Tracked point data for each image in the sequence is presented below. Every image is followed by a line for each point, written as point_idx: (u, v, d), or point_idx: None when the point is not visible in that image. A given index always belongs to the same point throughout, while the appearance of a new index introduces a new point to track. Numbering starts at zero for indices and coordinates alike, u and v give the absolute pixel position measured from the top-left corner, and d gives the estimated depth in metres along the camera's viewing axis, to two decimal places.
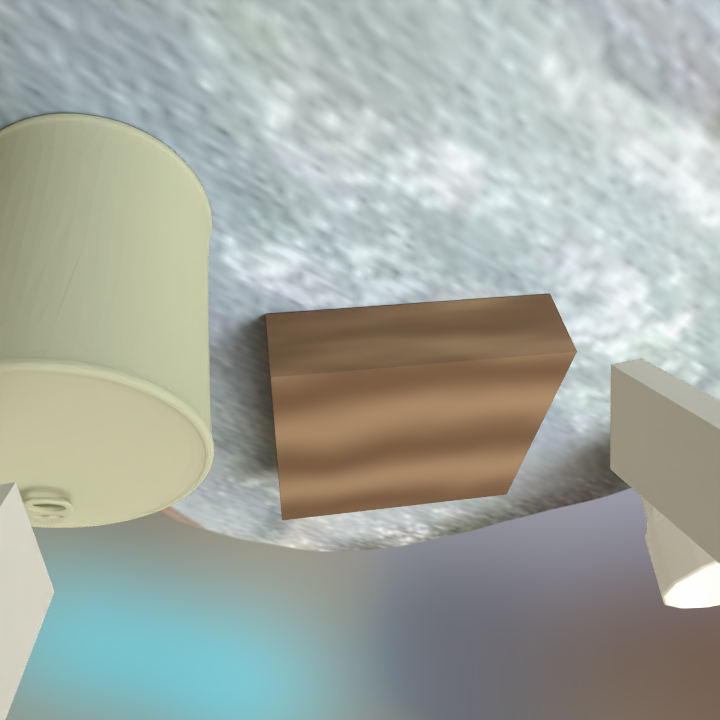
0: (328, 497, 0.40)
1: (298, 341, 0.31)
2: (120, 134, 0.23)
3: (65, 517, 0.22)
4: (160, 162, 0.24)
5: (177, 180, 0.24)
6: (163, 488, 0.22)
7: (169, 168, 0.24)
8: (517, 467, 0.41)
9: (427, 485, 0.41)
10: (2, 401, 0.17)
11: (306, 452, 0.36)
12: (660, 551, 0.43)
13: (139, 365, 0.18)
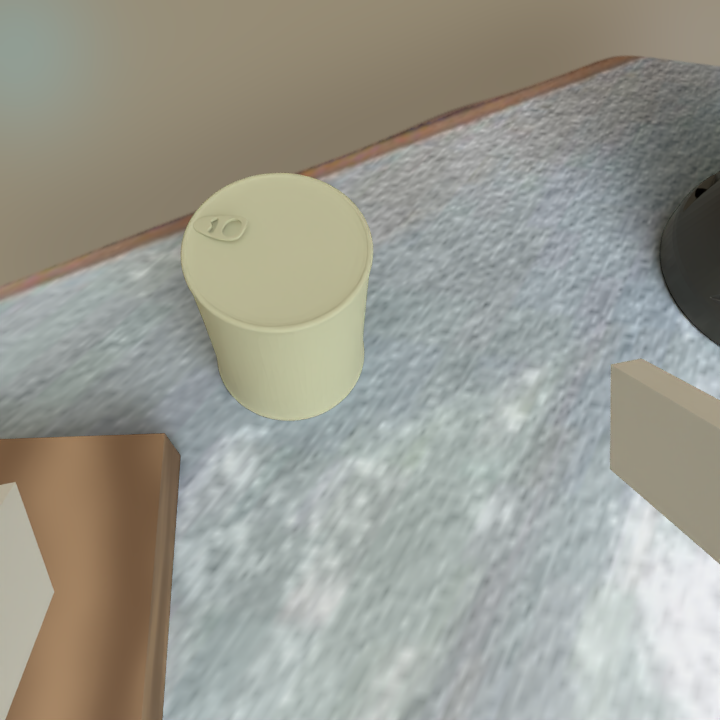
0: None
1: (171, 471, 0.36)
2: (357, 373, 0.40)
3: (208, 233, 0.31)
4: (343, 390, 0.39)
5: (333, 396, 0.39)
6: (223, 296, 0.30)
7: (338, 395, 0.39)
8: None
9: None
10: (340, 237, 0.31)
11: (24, 468, 0.33)
12: None
13: (350, 306, 0.30)
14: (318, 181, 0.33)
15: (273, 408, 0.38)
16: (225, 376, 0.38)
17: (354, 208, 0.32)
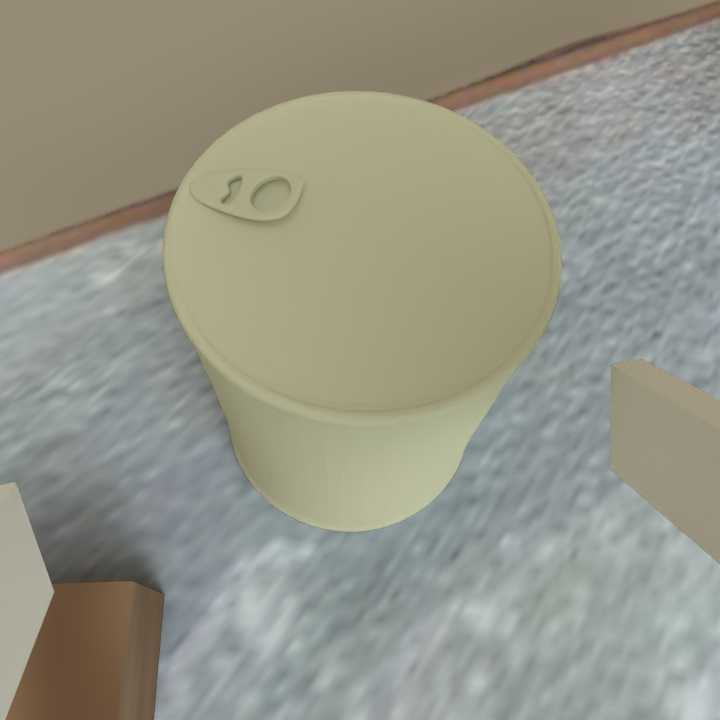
0: None
1: (144, 640, 0.20)
2: (462, 451, 0.24)
3: (221, 205, 0.15)
4: (443, 482, 0.23)
5: (428, 494, 0.23)
6: (252, 340, 0.14)
7: (435, 490, 0.23)
8: None
9: None
10: (492, 217, 0.15)
11: None
12: None
13: None
14: (438, 108, 0.17)
15: (326, 516, 0.22)
16: (243, 458, 0.22)
17: (513, 160, 0.16)
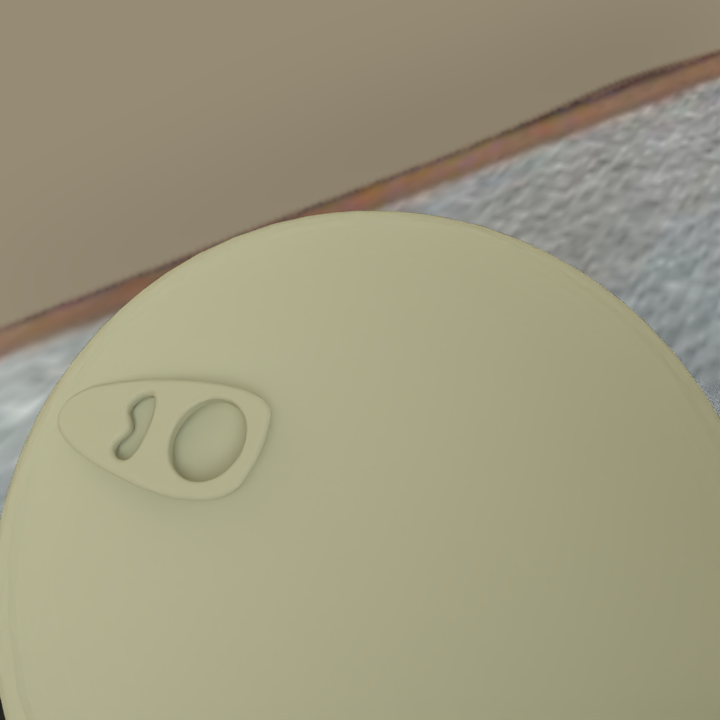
0: None
1: None
2: None
3: (111, 463, 0.08)
4: None
5: None
6: None
7: None
8: None
9: None
10: (625, 463, 0.08)
11: None
12: None
13: None
14: (510, 241, 0.10)
15: None
16: None
17: (652, 341, 0.09)
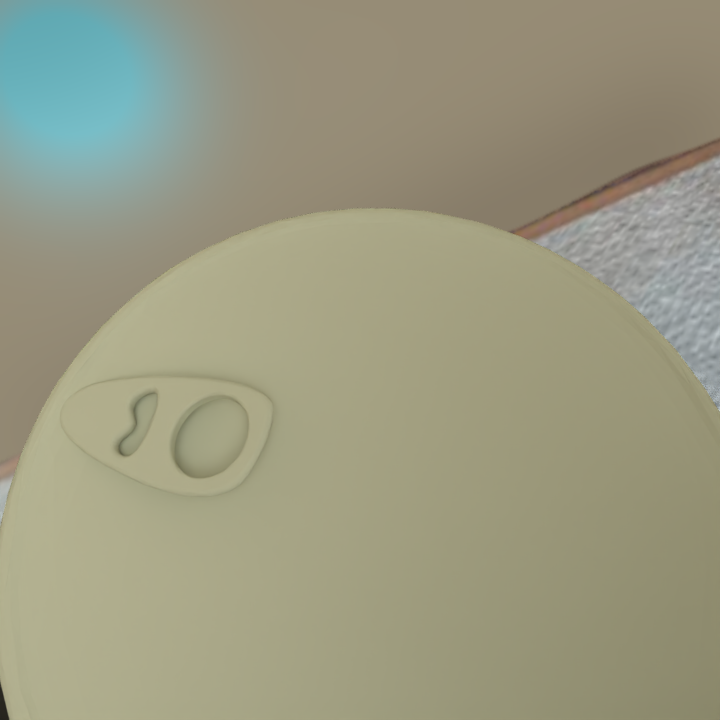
0: None
1: None
2: None
3: (114, 459, 0.08)
4: None
5: None
6: None
7: None
8: None
9: None
10: (627, 459, 0.08)
11: None
12: None
13: None
14: (512, 238, 0.10)
15: None
16: None
17: (654, 338, 0.09)
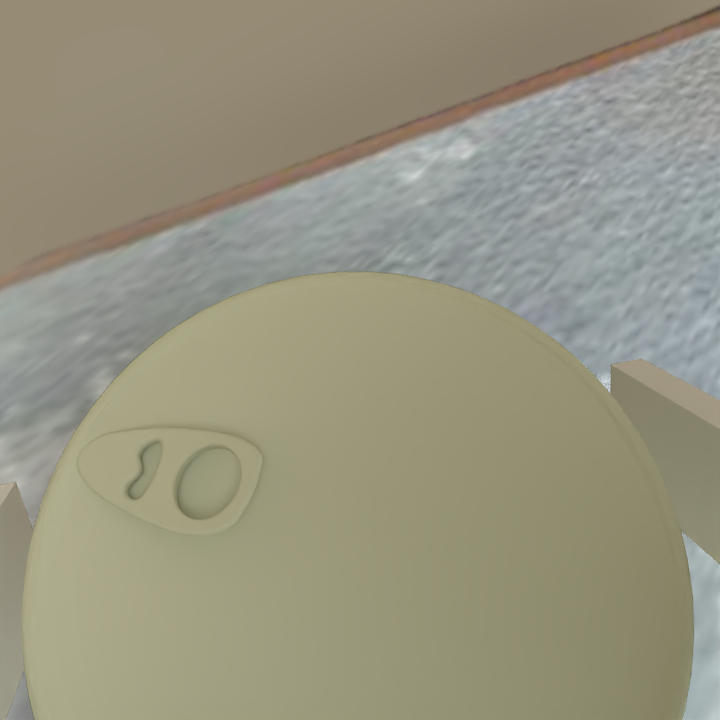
0: None
1: None
2: None
3: (124, 502, 0.09)
4: None
5: None
6: None
7: None
8: None
9: None
10: (571, 500, 0.09)
11: None
12: None
13: None
14: (475, 300, 0.11)
15: None
16: None
17: (597, 391, 0.10)
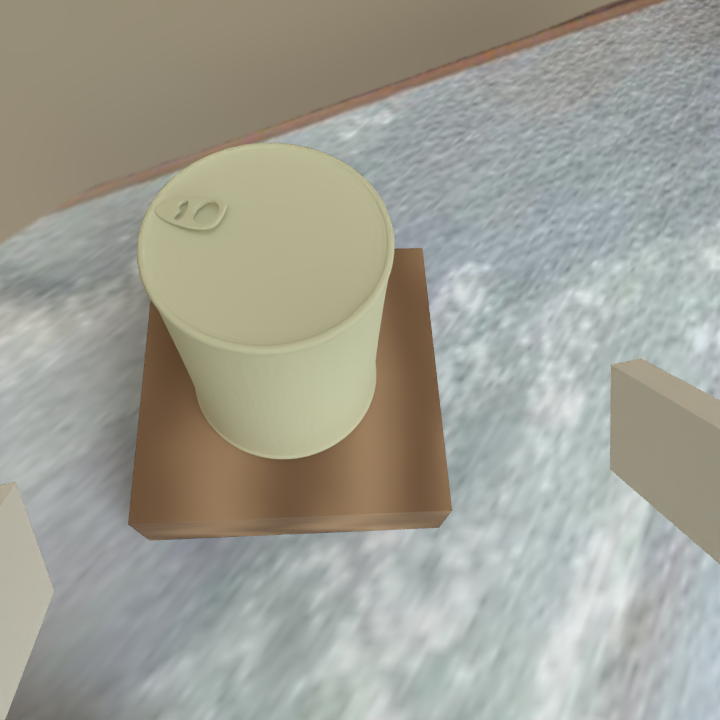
0: None
1: None
2: (368, 399, 0.32)
3: (174, 220, 0.23)
4: (352, 420, 0.31)
5: (339, 429, 0.31)
6: (193, 304, 0.22)
7: (345, 427, 0.31)
8: (208, 517, 0.30)
9: (192, 404, 0.33)
10: (351, 225, 0.24)
11: None
12: None
13: (365, 317, 0.23)
14: (321, 153, 0.25)
15: (263, 445, 0.30)
16: (203, 404, 0.31)
17: (368, 187, 0.24)
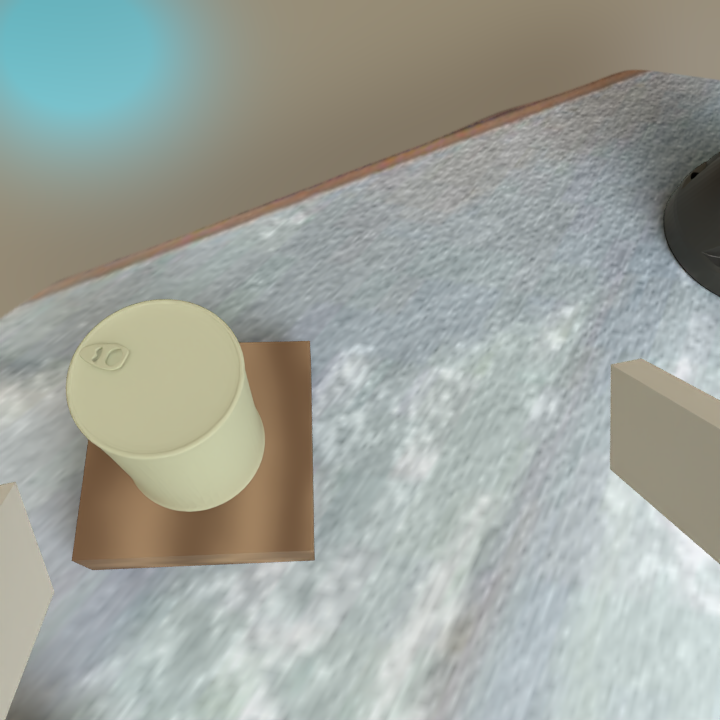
0: None
1: None
2: (256, 465, 0.43)
3: (92, 362, 0.34)
4: (240, 483, 0.42)
5: (230, 490, 0.41)
6: (102, 424, 0.33)
7: (236, 487, 0.42)
8: (131, 555, 0.41)
9: None
10: (215, 363, 0.34)
11: None
12: None
13: (221, 430, 0.33)
14: (199, 307, 0.36)
15: (172, 503, 0.41)
16: None
17: (230, 334, 0.35)
